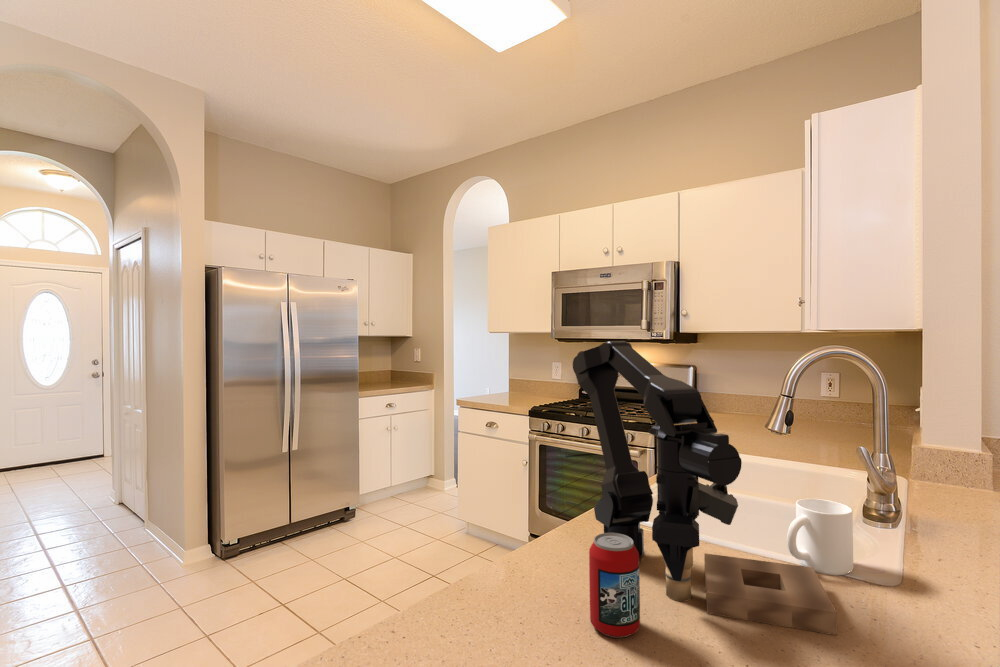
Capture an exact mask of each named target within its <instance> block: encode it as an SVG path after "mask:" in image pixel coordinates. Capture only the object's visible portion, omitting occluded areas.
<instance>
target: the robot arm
mask: <svg viewBox="0 0 1000 667" xmlns="http://www.w3.org/2000/svg"><path fill="white" fill-rule="evenodd" d="M572 369H573V372H574V374H575V377H576V380H577V383H578V385H579V387H580V388H582V389H583V391H584V392H585V393H586V394H587V395H588V396H589V399H590V404H591V408H592V412H593V417H594V421H595V425H596V430H597V434H598V438H599V442H600V447H601V451H602V456H603V461H604V465H605V473H604V476H603V480H602V482H601V492H602V496H601V497H600V499H599V500H597V501H598V502H597V503H596V504H595V506H594V507H593V510H594V517H595V520H596V521H598V522H599V523H601V524H602V525H603V533H618V534H623V535H626V536H628V537H630V538H631V539H632V540H633V542H634V545H635V547H636V549H637V551H638V553H639V562H640V561H641V557H643V555H644V552H645V550H644V549H645V547H644V546H645V544H644V542H645V540H644V529H643V528H642V527H641V523H644V522H645V523H646V522H649V521H650V516H651V512H652V508H653V506H654V497H653V494H654V492H653V490H652V488H651V484H650V481H649V475H648V473H647V472H646V471H645V470H641V471H640V470H639V469H638V467H636V466H635V465H634V463H633V458H632V455H631V452H630V447H629V443H628V440H627V435H626V431H625V427H624V424H623V420H622V416H621V413H620V408H619V404H618V400H617V396H616V393H615V392H616V391H615V388H616V385H617V383H618V380H619V377H620V376H619V374H620V375H621V376H622V377H623V378H624V379H625V381H627V382H628V383H629V384H630V385H631V386H632V388H634V389H635V390H636V391H637V392H638V393H639V394H640V395H641V396H642V398H643V408H644V409H645V411H647V413H648V415H649V416H650V417H651V419H652V420H653V422H654V423H655V424H654V425H653V426H651V428H649V429H648V433H649V434H650V435H652V436H656V477H655V478H656V479H655V480H656V481H655V482H656V484H657V485H656V488H657V500H656V511H658V515H657V516H656V517H654V518H653V522H652V527H651V530H652V531H651V536H652V541H654V542H655V543H656V545H657V548H658V549H659V551H660V554H661V555H662V559H663V558H664V560H665V562H666V564H667V567H668V569H669V571H670V574H671V576H672V578H673V580H675V581H681V579H682V574H683V570H684V565H685V560H686V556H687V552H688V550H690V549H691V548H693V549H694V548H697V547H700V525H699V522H697V521H696V519H698V517H700V512H701V513H703V514H705V515H707V516H709V517H712V518H714V519H716V520H719V521H720V523H722V524H725V525H728V526H729V525H731V524H732V522H733V520H734V517H735V516H736V512H737V511H738V507H739V503H738V500H737V498H736V497H735V496H734V494H729V493H728V486H729V485H731V484H733V483H734V482H735V481H736V480H737V478H739V475H740V473H741V469H742V458H741V457H740V453H739V452H738V449H737V448H736V447H735V446H734V445H732V444H730V437H729V434H727V433H718V429H717V427H716V425H715V420H714V419H713V418H712V416H711V415H710V413H709V411H708V408H707V407H706V405H705V403H704V400H703V399H702V395H701V393H700V391H698V389H696V387H693V386H691V385H690V384H688V383H686V382H684V381H682V380H679V379H675V378H671V377H669V376H666V375H665V374H663V373H662V372H661V371H660V370H659V369H657V367H655V366H654V365H653V364H652V363H650V361H648V360H647V359H646V358H644V357H643V356H642V355H641V354H640V353H638V352H637V351H636V349H634V348H633V347H632V344H631V343H630V342H628V341H626V340H611V341H610V340H609V341H605V342H603V343H601V344H600V345H598V346H595V347H593V348H589V349H586V350H581V351H579V352H578V353H577V355H576V356H575V357H574V358H573V360H572ZM699 479H702V480H705V481H708V482H711V483H712V484H710V485H709V484H708V483H706V484H704V483H701V482H699Z"/></svg>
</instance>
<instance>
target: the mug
mask: <svg viewBox="0 0 1000 667" xmlns="http://www.w3.org/2000/svg"><path fill="white" fill-rule="evenodd" d="M853 516H854V515H853V509H852V508H851V507H849V506H848V505H846V504H843V503H840V502H838V501H837V502H836V501H834V500H828V499H821V498H801V499H797V501H796V502H795V518H794V519H793V520H792V521H791V523H790V524H789V527H788V529H787V534H786V535H787V536H786V543H787V544H786V546H787V549H788V551H789V553H790V554H791V556H792V557H794V558H795V559H797V560H798V562H799V564H800V565H801V566H805V567H813V569H814V571H815V573H819V574H823V575H829V576H846V575H848V574H847V573H848V572H849V571H851V570H852V569H854V530H853V529H854V525H853V524H854V522H853V521H854V519H853V518H854V517H853ZM852 571H853V570H852ZM852 571H851V572H852ZM845 574H846V575H845Z"/></svg>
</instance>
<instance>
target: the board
mask: <svg viewBox="0 0 1000 667" xmlns="http://www.w3.org/2000/svg"><path fill="white" fill-rule="evenodd" d="M703 554H704V581H705V583H704V584H705V600H706V601H705V602H706V614H708V615H709V614H711V615H716V616H720V617H721V616H722V617H728V618H733V619H737V620H745V621H751V622H755V623H756V622H757V623H762V624H768V625H775V626H779V627H780V626H781V627H785V628H791V629H798V630H804V631H809V632H815V633H822V634H829V635H833V636H838V614H837V611H836V610H837V609H836V608H835V607H834V605H833V602H832V601H831V599H830V597H829V594H827V592H826V589H825V588H824V586H823V584H822V581H820V579H819V577H818V574H817V572H815V571H814V569H813V567H805V566H803V565H797V564H791V563H790V564H789V563H782V562H774V561H767V560H758V559H751V558H744V557H743V558H742V557H736V556H728V555H722V554H721V555H720V554H713V553H703Z"/></svg>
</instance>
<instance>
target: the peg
mask: <svg viewBox="0 0 1000 667" xmlns="http://www.w3.org/2000/svg"><path fill="white" fill-rule="evenodd" d="M662 563H663V564H664V565H665V571H664V575H665V592H666V593H665V595H666V597H668V598H669V599H671V600H673V601H677V602H687V601H689V600H691V598H692V589H691V587H692V586H691V584H692V583H691V581H692V580H691V579H692V574H691V569H692V568H693V567H694V547H693V548H691V549H690V550H688V552H687V556H686V560H685V565H684V570H683V574H682V579H681V581H675V580H673V578H672V576H671V574H670V571H669V569H668V567H667V564H666V562H665V560H664V558H663V557H662Z"/></svg>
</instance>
